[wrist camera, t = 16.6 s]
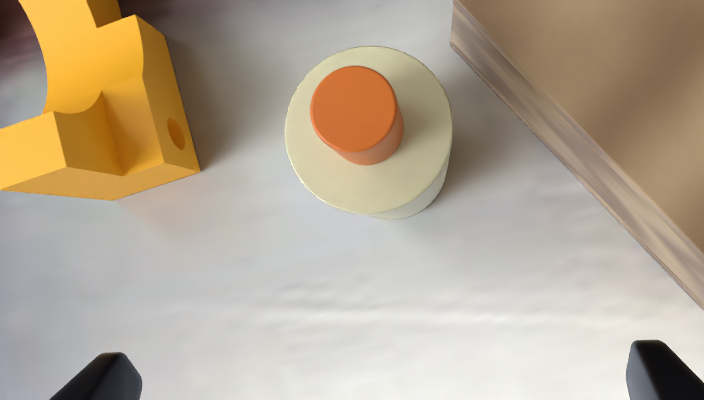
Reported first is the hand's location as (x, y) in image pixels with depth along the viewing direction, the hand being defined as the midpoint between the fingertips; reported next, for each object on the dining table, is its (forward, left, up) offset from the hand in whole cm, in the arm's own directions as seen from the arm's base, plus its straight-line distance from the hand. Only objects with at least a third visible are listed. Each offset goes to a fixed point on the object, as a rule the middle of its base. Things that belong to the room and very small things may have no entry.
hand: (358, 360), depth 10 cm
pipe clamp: (+14, +8, -13) cm, 21 cm away
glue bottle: (+5, -1, -13) cm, 14 cm away
